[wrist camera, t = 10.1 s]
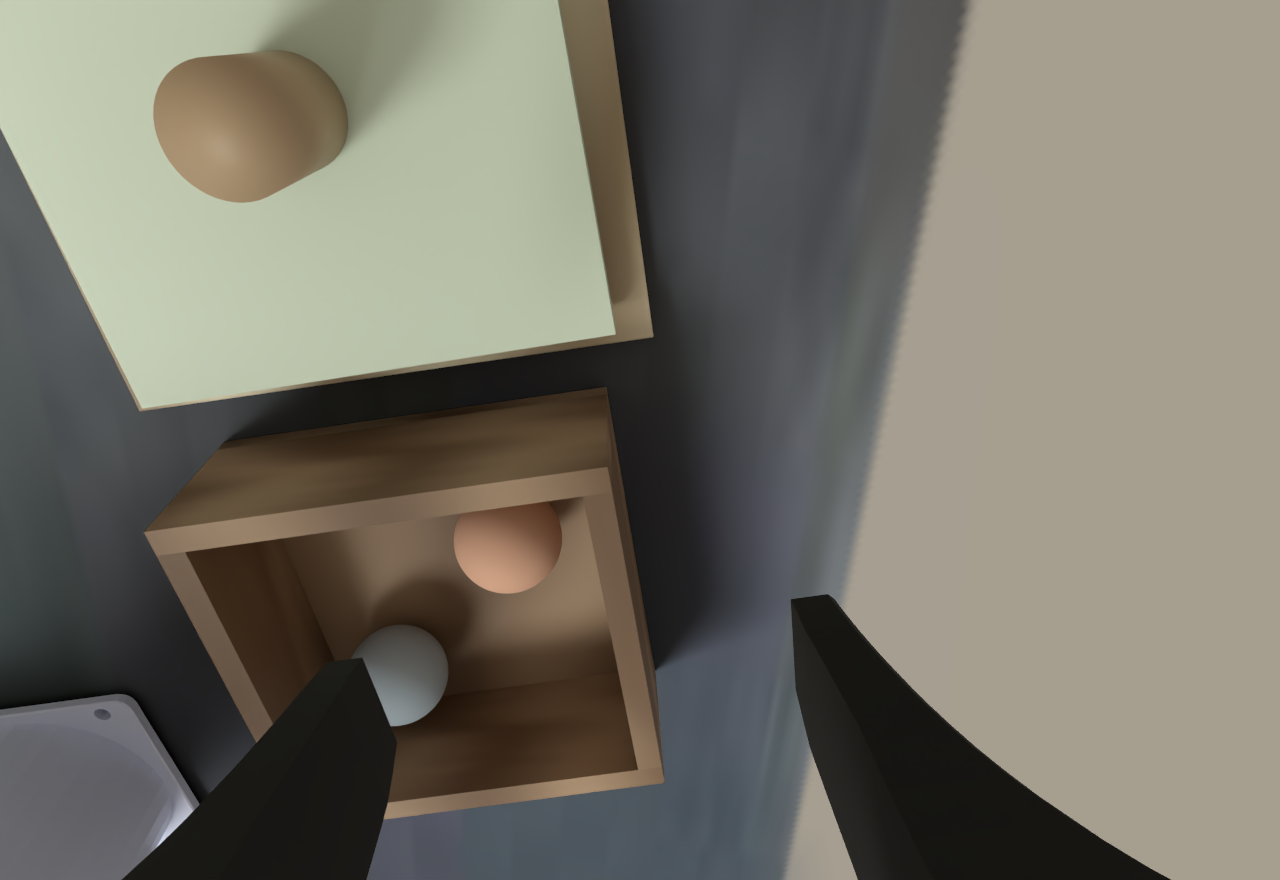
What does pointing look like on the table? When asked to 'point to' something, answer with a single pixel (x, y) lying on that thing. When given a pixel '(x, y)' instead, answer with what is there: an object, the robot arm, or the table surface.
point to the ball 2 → (508, 546)
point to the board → (610, 191)
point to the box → (432, 591)
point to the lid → (307, 182)
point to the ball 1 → (405, 671)
